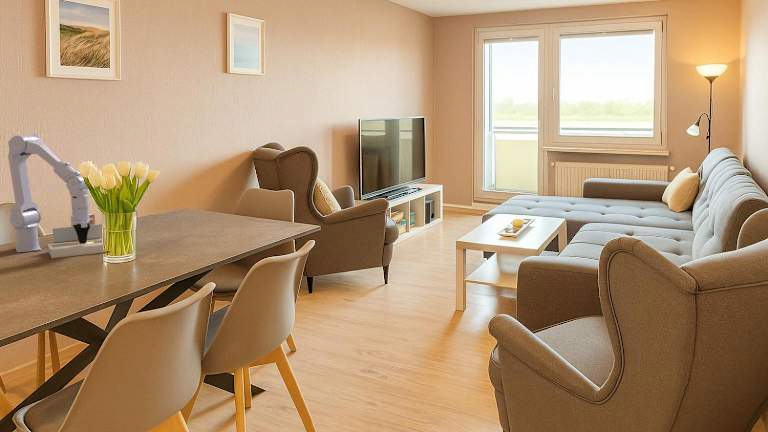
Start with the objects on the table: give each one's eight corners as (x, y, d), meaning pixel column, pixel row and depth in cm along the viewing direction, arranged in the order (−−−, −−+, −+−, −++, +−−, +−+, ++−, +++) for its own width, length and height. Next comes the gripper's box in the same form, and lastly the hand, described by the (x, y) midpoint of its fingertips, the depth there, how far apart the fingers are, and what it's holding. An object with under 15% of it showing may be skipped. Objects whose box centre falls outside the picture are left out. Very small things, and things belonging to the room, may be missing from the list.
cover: (51, 228, 239) (51, 228, 240) (53, 243, 240) (52, 243, 241) (99, 224, 248) (98, 224, 249) (100, 239, 249) (99, 238, 250)
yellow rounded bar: (67, 243, 242) (68, 250, 243) (68, 244, 240) (69, 252, 240) (93, 240, 247) (93, 248, 247) (94, 242, 244) (95, 249, 245)
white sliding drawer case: (51, 258, 232) (51, 250, 232) (48, 252, 241) (47, 244, 241) (110, 251, 243) (109, 244, 242) (104, 246, 252) (104, 238, 252)
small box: (84, 242, 259) (82, 216, 257) (71, 241, 260) (69, 216, 258) (96, 238, 267) (94, 213, 265) (84, 237, 268) (82, 213, 266)
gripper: (95, 209, 233) (97, 245, 236) (88, 204, 245) (91, 238, 248) (74, 211, 229) (76, 247, 232) (68, 205, 241) (71, 240, 244)
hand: (82, 243), depth 239 cm, fingers closed
